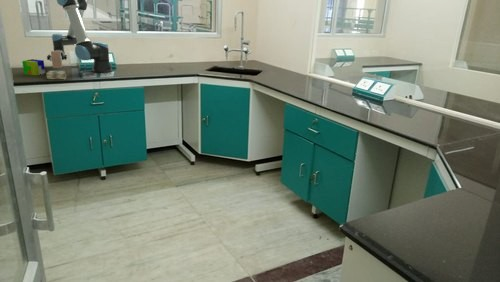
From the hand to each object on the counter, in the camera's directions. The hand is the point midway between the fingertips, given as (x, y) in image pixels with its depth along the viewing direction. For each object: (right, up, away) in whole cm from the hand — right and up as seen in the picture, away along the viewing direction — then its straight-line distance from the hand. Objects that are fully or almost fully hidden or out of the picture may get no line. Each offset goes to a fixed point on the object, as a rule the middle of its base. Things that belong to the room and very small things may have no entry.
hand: (55, 59), depth 283 cm
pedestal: (+3, -15, -4) cm, 16 cm away
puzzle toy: (-18, -10, +4) cm, 21 cm away
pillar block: (-2, -5, +7) cm, 8 cm away
